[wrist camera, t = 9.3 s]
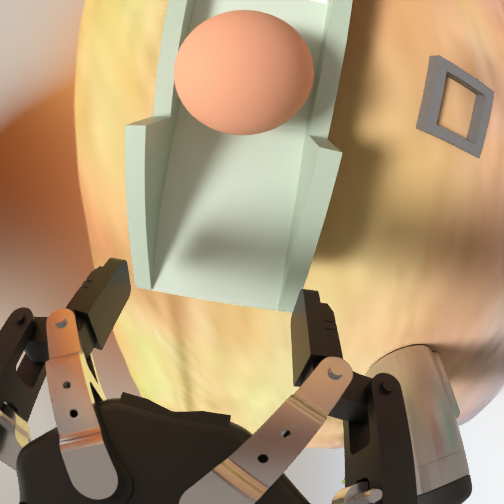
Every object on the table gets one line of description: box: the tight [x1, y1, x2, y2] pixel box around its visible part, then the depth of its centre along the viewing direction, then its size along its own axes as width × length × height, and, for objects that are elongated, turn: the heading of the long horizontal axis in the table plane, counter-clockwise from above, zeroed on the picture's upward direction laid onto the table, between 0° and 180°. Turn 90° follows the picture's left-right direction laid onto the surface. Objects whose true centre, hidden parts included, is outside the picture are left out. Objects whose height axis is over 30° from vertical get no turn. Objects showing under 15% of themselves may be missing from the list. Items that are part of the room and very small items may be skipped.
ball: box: [174, 10, 314, 135], centre depth 10 cm, size 6×6×6 cm
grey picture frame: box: [416, 55, 494, 158], centre depth 13 cm, size 6×6×1 cm
